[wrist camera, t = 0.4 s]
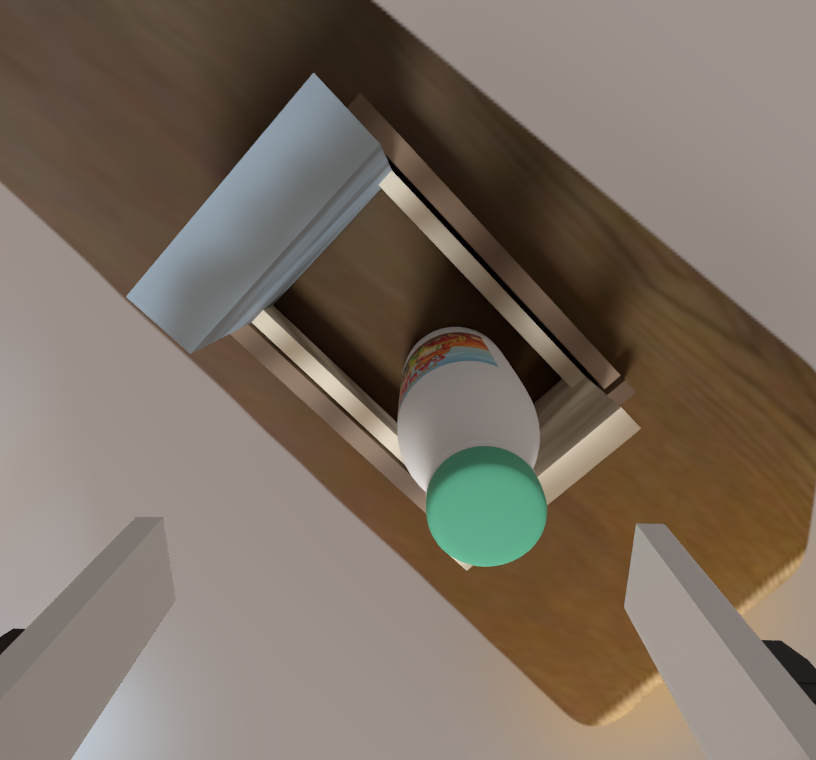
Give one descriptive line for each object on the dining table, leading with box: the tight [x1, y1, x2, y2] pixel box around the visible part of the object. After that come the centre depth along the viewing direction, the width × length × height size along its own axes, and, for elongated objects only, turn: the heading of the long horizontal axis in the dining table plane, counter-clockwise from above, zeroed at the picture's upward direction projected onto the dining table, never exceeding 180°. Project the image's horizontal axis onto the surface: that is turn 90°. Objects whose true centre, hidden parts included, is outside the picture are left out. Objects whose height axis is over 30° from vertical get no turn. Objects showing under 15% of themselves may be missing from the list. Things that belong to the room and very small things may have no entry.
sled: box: [126, 73, 641, 570], centre depth 31 cm, size 24×14×12 cm, turn 45°
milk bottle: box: [397, 327, 547, 566], centre depth 29 cm, size 8×8×20 cm
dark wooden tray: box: [230, 92, 635, 513], centre depth 36 cm, size 27×17×2 cm, turn 45°
